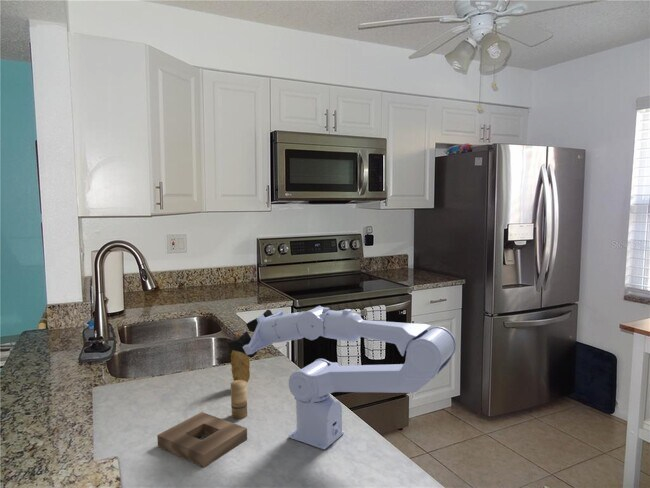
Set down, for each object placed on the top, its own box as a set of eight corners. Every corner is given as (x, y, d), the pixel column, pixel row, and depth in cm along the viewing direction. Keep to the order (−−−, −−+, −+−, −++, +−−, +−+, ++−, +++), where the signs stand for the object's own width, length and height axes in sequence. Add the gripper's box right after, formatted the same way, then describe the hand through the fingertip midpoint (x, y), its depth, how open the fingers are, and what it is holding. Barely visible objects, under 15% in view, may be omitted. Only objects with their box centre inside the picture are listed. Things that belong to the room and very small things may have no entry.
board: (247, 439, 97) (246, 428, 97) (204, 467, 87) (203, 455, 87) (202, 422, 104) (201, 411, 104) (157, 446, 94) (157, 434, 94)
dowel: (250, 414, 108) (249, 382, 107) (239, 420, 105) (238, 387, 104) (239, 410, 110) (238, 378, 109) (228, 416, 107) (227, 384, 106)
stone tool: (250, 385, 125) (249, 332, 123) (250, 388, 123) (248, 334, 121) (232, 386, 125) (230, 333, 123) (231, 389, 122) (229, 335, 121)
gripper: (291, 296, 105) (248, 306, 112) (257, 331, 93) (212, 340, 100) (303, 321, 107) (261, 329, 114) (272, 359, 95) (227, 366, 102)
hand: (239, 336), depth 107 cm, fingers open, 7 cm apart
